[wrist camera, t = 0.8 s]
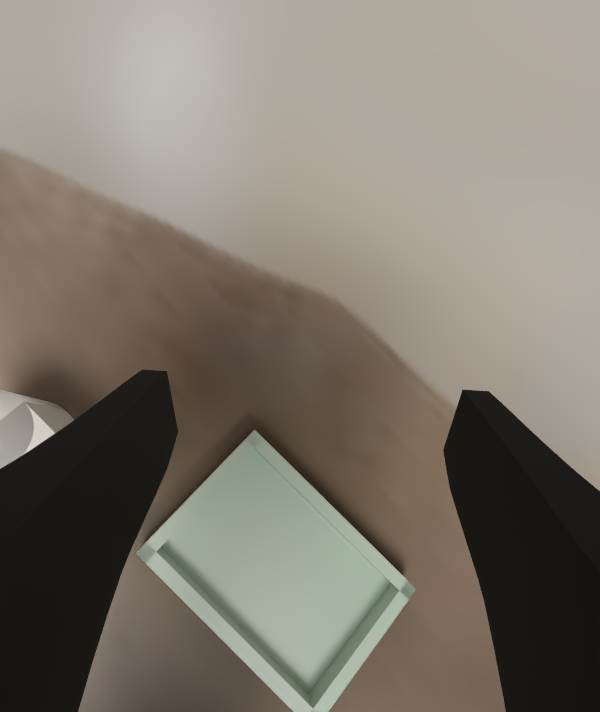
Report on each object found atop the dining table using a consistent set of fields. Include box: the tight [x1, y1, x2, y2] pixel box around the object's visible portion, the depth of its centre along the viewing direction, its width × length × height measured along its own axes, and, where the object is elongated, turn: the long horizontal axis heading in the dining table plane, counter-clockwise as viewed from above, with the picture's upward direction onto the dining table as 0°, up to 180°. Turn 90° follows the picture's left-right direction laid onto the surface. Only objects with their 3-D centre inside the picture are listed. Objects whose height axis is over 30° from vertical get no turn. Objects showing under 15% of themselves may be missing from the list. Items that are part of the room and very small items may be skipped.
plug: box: [0, 390, 74, 469], centre depth 20 cm, size 8×4×5 cm, turn 47°
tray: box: [136, 430, 416, 712], centre depth 23 cm, size 8×12×2 cm
